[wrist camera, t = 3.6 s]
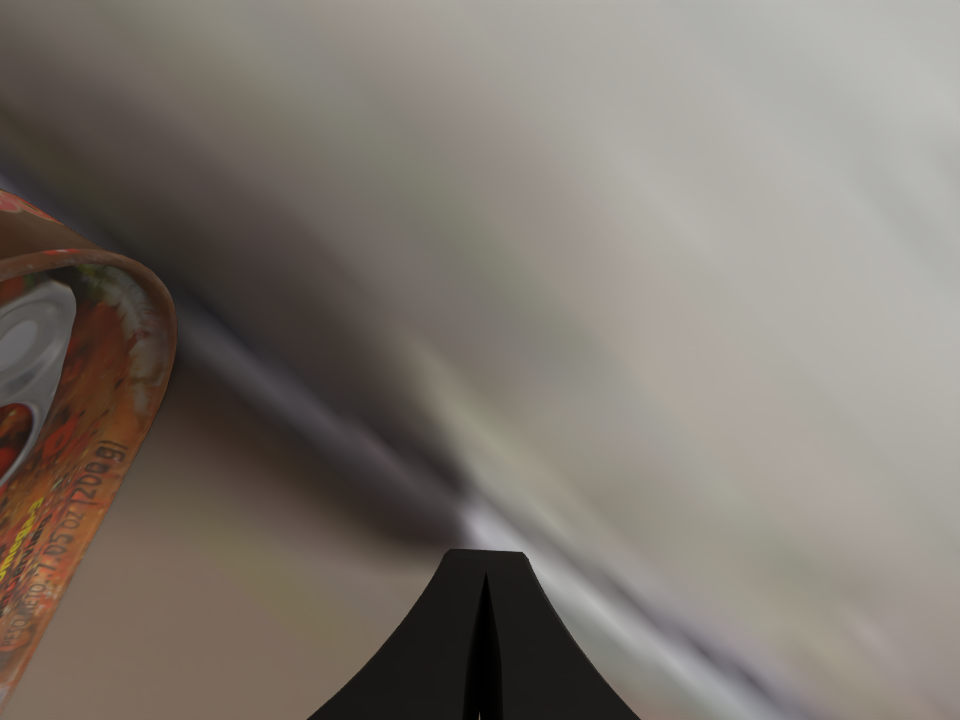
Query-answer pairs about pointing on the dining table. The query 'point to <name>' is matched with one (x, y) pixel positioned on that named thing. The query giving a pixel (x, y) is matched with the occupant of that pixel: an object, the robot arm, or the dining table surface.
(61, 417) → the tin
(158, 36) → the dining table surface
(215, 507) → the dining table surface
